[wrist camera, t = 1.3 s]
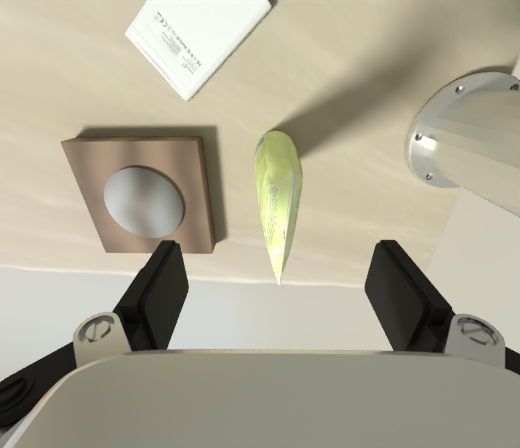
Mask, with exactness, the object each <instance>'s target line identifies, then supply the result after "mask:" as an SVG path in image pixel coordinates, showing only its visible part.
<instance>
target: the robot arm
mask: <svg viewBox="0 0 520 448" xmlns="http://www.w3.org/2000/svg"><path fill="white" fill-rule="evenodd" d="M455 90H456V91H455ZM416 135H417V136H416ZM415 136H416V137H415ZM406 158H407V161H408V165H409V167H410V169H411V170H412V172H413V173H414V174H415V175H416V176H417V177H418V178H419V179H420V180H422V181H423V182H425V183H427V184H429V185H432V186H435V187H440V188H454V187H460V186H462V187H463V188H465V189H467V190H469V191H471V192H473V193H475V194H477V195H479V196H480V197H482V198H484V199H486V200H488V201H490V202H492V203H493V204H495V205H497V206H499V207H501V208H503V209H505V210H507V211H509V212H510V213H512V214H514V215H516V216H518V217H520V80H518V79H517V78H516V77H514V76H512V75H509V74H506V73H500V72H481V73H477V74H472V75H468V76H465V77H463V78H461V79H458V80H456V81H454V82H452V83H451V84H449V85H447V86H446V87H444V88H443V89H442V90H440V91H439V92H438V93H437V94H435V95H434V96H433V97H432V98H431V99H430V100H429V101H428V102H427V103H426V104H425V105H424V107H423V108H422V109H421V111H420V112H419V114H418V115H417V116H416V118H415V120H414V122H413V124H412V126H411V128H410V131H409V134H408V138H407V144H406ZM188 289H189V285H188V280H187V275H186V271H185V266H184V261H183V257H182V252H181V247H180V244H179V243H176V241H175V240H162V241H161V242H160V244H159V245H158V247H157V248H156V250H155V251H154V253H153V254H152V256H151V257H150V259H149V260H148V262H147V263H146V265H145V267H144V268H142V269H141V270H140V271H139V273H138V274H137V276H136V277H135V279H134V280H133V282H132V283H131V285H130V286H129V288H128V289H127V291H126V292H125V294H124V295H123V297H122V298H121V300H120V301H119V303H118V304H117V305H116V307H115V308H114V310H113V312H103V313H99V314H96V315H93V316H92V317H90V318H88V319H86V320H85V321H84V322H83V323H81V324H80V325H79V327H78V328H77V329H76V331H75V332H74V335H73V342H71V343H69V344H67V345H65V346H64V347H62V348H60V349H58V350H57V351H54V352H53V353H51V354H49V355H47V356H45V357H43V358H42V359H40V360H38V361H36V362H34V363H32V364H31V365H29V366H27V367H25V368H23V369H22V370H20V371H18V372H16V373H14V374H12V375H10V376H9V377H7V378H6V379H4V380H3V381H1V382H0V448H520V354H519V353H517V352H515V351H513V350H511V349H509V348H507V347H505V342H504V338H503V336H502V335H501V334H500V332H499V331H498V330H497V329H496V328H494V327H493V326H492V325H490V324H489V323H488V322H486V321H484V320H482V319H480V318H478V317H475V316H473V315H468V314H457V315H456V314H455V313H454V312H453V311H452V307H451V306H450V305H449V303H448V302H447V301H446V300H445V299H444V297H442V295H441V294H440V293H439V292H438V290H437V289H436V288H435V287H434V286H433V284H431V282H430V281H429V280H428V278H427V277H426V276H425V275H424V274H423V272H422V271H421V270H420V269H419V268H418V266H417V265H416V264H415V263H414V262H413V260H412V259H411V258H410V257H409V256H408V255H407V253H406V252H405V251H404V250H403V249H402V247H401V246H400V245H399V244H398V243H397V241H395V240H381V241H380V243H377V244H376V246H375V250H374V253H373V257H372V261H371V264H370V268H369V271H368V275H367V279H366V282H365V292H366V295H367V296H368V299H369V300H370V303H371V305H372V307H373V309H374V311H375V313H376V315H377V317H378V319H379V321H380V324H381V325H382V328H383V330H384V332H385V334H386V336H387V338H388V340H389V342H390V344H391V346H392V348H393V350H394V351H368V350H366V351H365V350H281V349H271V350H270V349H266V350H265V349H175V350H174V349H173V350H172V349H168V350H167V347H168V344H169V342H170V339H171V336H172V333H173V331H174V328H175V326H176V323H177V320H178V317H179V314H180V312H181V309H182V307H183V304H184V301H185V299H186V296H187V293H188Z"/></svg>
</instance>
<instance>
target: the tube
mask: <svg viewBox="0 0 520 448" xmlns="http://www.w3.org/2000/svg"><path fill="white" fill-rule="evenodd" d="M255 176H256V187H257V194H258V201H259V207H260V213H261V218H262V224H263V229H264V234H265V239H266V244H267V248H268V252H269V256H270V259H271V263H272V266H273V269H274V272H275V275H276V277H277V279H278V285H280V282H281V275H282V272H283V270H284V268H285V265H286V262H287V259H288V256H289V253H290V249H291V245H292V241H293V236H294V231H295V226H296V220H297V214H298V208H299V202H300V196H301V190H302V168H301V164H300V160H299V157H298V153H297V150H296V148H295V145H294V143H293V141H292V139H291V138H290V137H289V136H288V135H287V134H285V133H284V132H281V131H271V132H268V133H266V134H265V135H263V136H262V137H261V138H260V139H259V141H258V143H257V145H256V151H255Z"/></svg>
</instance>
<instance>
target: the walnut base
mask: <svg viewBox="0 0 520 448" xmlns="http://www.w3.org/2000/svg"><path fill="white" fill-rule="evenodd" d="M61 144H62V147H63V149H64V152H65V154H66V156H67V159H68V161H69V164H70V166H71V169H72V171H73V174H74V176H75V178H76V181H77V183H78V186H79V188H80V191H81V193H82V195H83V198H84V200H85V203H86V205H87V208H88V210H89V213H90V215H91V217H92V220H93V222H94V225H95V227H96V230H97V232H98V234H99V237H100V239H101V242H102V244H103V247H104V249H105V251H106V253H154V251H155V250H156V248H157V247H158V245H159V244H160V242H161V241H162V240H175V241H176V243H179V244H180V247H181V252H182V253H197V254H212V253H213V250H214V247H215V244H216V243H215V236H214V228H213V220H212V212H211V204H210V196H209V188H208V180H207V173H206V165H205V157H204V149H203V141H202V137H97V138H72V139H69V140H65V141H62V142H61Z"/></svg>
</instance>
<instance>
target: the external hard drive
mask: <svg viewBox="0 0 520 448" xmlns="http://www.w3.org/2000/svg"><path fill="white" fill-rule="evenodd" d="M271 7H272V6H271V4H270V2H269V1H268V0H147V2H146V3H145V5H144V6H143V8H142V9H141V10H140V12H139V13H138V15H137V16H136V18H135V19H134V21H133V22H132V24H131V25H130V27H129V28H128V30H127V31H126V33H125V34H126V36H127V37H128V38H129V39H130V40H131V42H132V43H133V44H134V45H135V46H136V47H137V48H138V49H139V50H140V51H141V52H142V53H143V55H144V56H145V57H146V58H147V59H148V60H149V61H150V62H151V63H152V65H153V66H154V67H155V68H156V69H157V70H158V71H159V72H160V73H161V75H162V76H163V77H164V78H165V79H166V80H167V81H168V82H169V83H170V85H171V86H172V87H173V88H174V89H175V90H176V91H177V92H178V93H179V94H180V96H181V97H182V98H183V99H184V100H185V101H189V100H190V99H191V98H192V97H193V96H194V95H195V93H196V92H197V91H198V90H199V89H200V88H201V87H202V86H203V85H204V84H205V82H206V81H207V80H208V79H209V78H210V77H211V76H212V75H213V74H214V72H215V71H216V70H217V69H218V68H219V67H220V66H221V65H222V64H223V62H224V61H225V60H226V59H227V58H228V57H229V56H230V54H231V53H232V52H233V51H234V50H235V49H236V48H237V47H238V46H239V44H240V43H241V42H242V41H243V40H244V39H245V38H246V37H247V35H248V34H249V33H250V32H251V31H252V30H253V29H254V28H255V26H256V25H257V24H258V23H259V22H260V21H261V20H262V19H263V17H264V16H265V15H266V14H267V13H268V12H269V11H270V10H271Z"/></svg>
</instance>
